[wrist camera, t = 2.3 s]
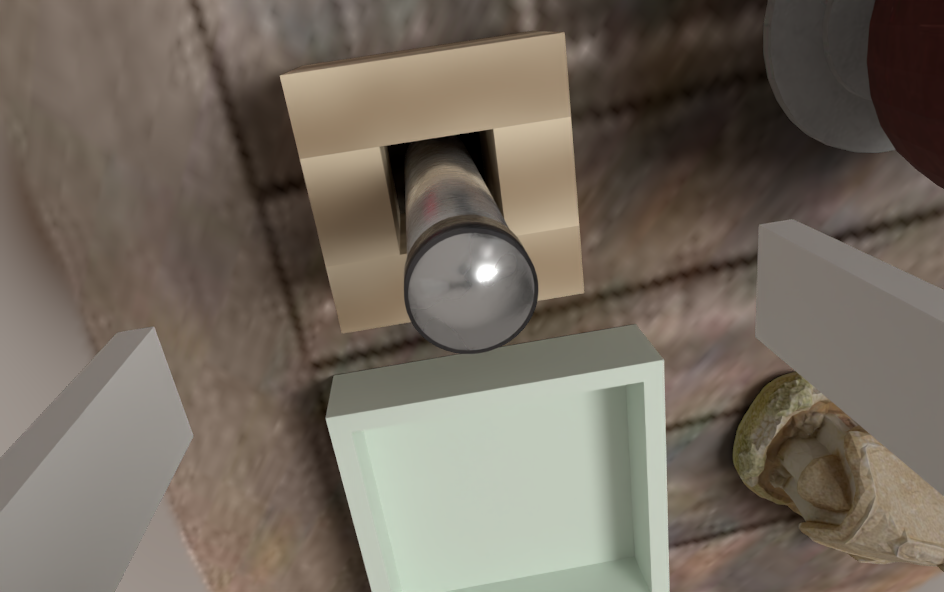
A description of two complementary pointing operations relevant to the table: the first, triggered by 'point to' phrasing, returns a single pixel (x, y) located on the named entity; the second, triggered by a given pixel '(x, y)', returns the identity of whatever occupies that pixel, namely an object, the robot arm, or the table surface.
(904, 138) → the mate gourd
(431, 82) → the hitch block
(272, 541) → the table surface
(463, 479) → the tray
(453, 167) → the pin
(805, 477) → the ceramic model
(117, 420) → the robot arm
